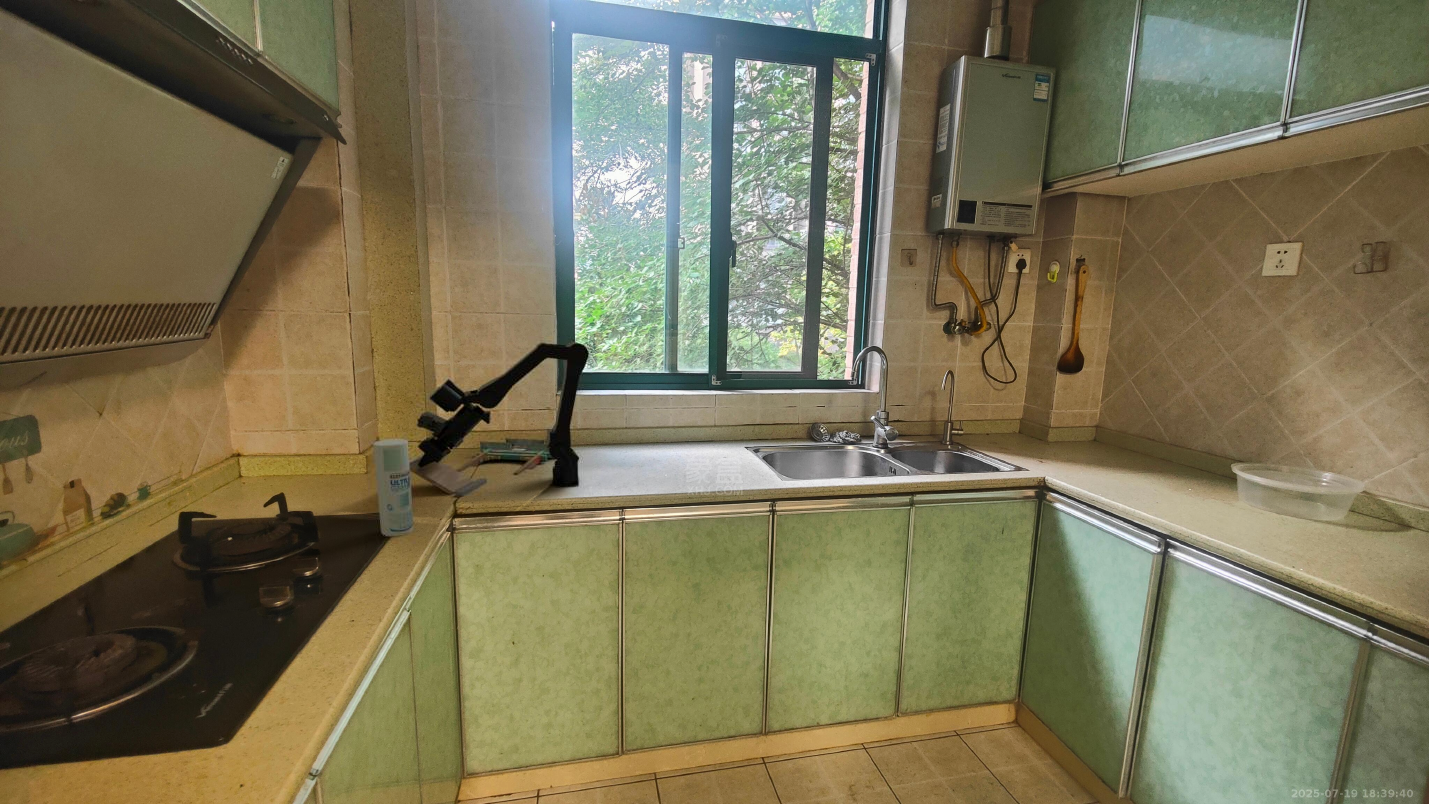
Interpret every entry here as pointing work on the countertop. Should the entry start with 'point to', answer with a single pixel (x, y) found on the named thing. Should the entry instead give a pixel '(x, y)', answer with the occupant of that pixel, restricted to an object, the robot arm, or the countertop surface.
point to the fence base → (470, 487)
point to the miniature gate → (511, 453)
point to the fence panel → (440, 475)
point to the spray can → (393, 486)
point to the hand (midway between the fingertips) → (419, 465)
